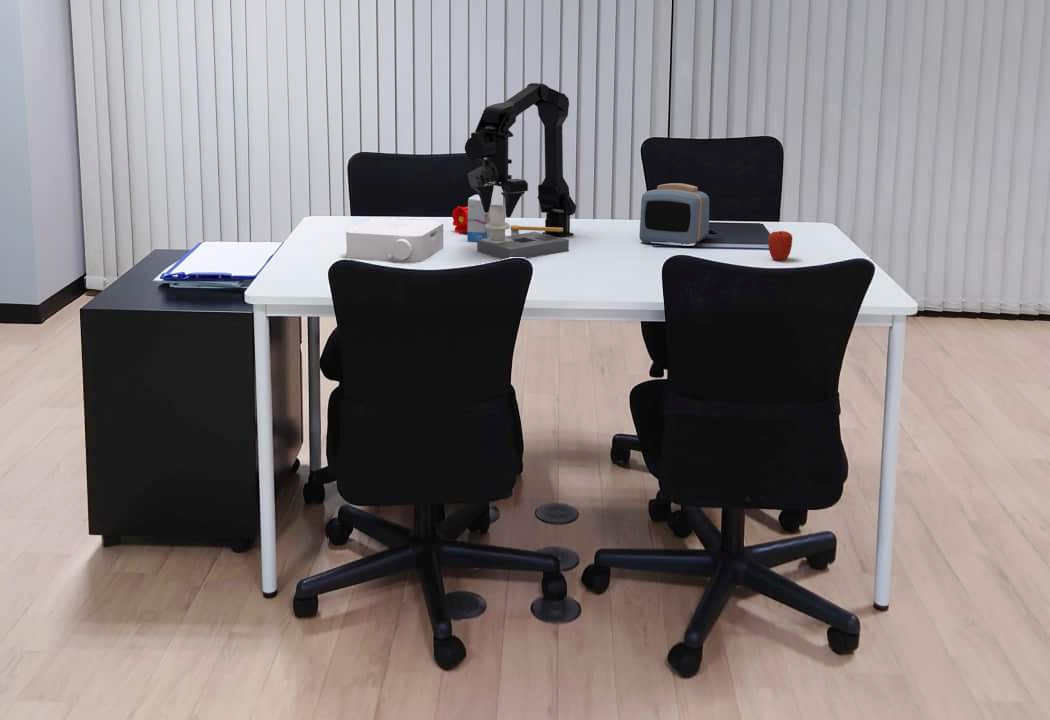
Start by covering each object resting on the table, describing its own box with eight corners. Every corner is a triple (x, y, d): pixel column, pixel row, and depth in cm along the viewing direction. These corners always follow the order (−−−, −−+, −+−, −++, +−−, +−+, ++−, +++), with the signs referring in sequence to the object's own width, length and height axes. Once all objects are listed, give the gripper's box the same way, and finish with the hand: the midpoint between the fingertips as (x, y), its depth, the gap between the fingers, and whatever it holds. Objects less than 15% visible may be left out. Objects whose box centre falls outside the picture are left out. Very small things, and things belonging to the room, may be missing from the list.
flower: (492, 215, 384) (468, 217, 380) (485, 237, 389) (461, 240, 384) (478, 199, 389) (454, 201, 385) (471, 222, 394) (448, 224, 389)
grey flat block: (532, 241, 375) (532, 226, 374) (568, 250, 364) (568, 235, 362) (474, 251, 362) (474, 235, 361) (510, 260, 351) (510, 244, 350)
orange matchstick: (509, 230, 367) (509, 226, 367) (511, 228, 370) (511, 224, 369) (561, 232, 365) (562, 228, 365) (563, 230, 367) (563, 227, 367)
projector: (342, 259, 352) (341, 233, 350) (372, 243, 373) (371, 218, 371) (419, 264, 347) (418, 237, 345) (445, 247, 368) (445, 222, 366)
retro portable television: (636, 244, 373) (638, 186, 369) (654, 233, 388) (656, 177, 383) (694, 249, 367) (697, 190, 363) (710, 238, 382) (713, 181, 377)
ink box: (484, 242, 373) (484, 199, 370) (467, 241, 374) (466, 199, 371) (491, 236, 382) (491, 194, 378) (474, 235, 382) (474, 193, 379)
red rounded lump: (772, 256, 359) (773, 228, 357) (794, 258, 356) (796, 230, 354) (763, 260, 354) (765, 232, 352) (786, 263, 351) (788, 234, 349)
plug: (499, 236, 366) (499, 202, 363) (514, 239, 361) (514, 206, 358) (480, 239, 362) (480, 205, 359) (495, 243, 357) (495, 209, 354)
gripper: (451, 154, 357) (451, 213, 361) (495, 162, 343) (495, 223, 348) (484, 150, 364) (484, 208, 368) (529, 158, 350) (529, 218, 354)
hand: (497, 214), depth 359 cm, fingers open, 9 cm apart
